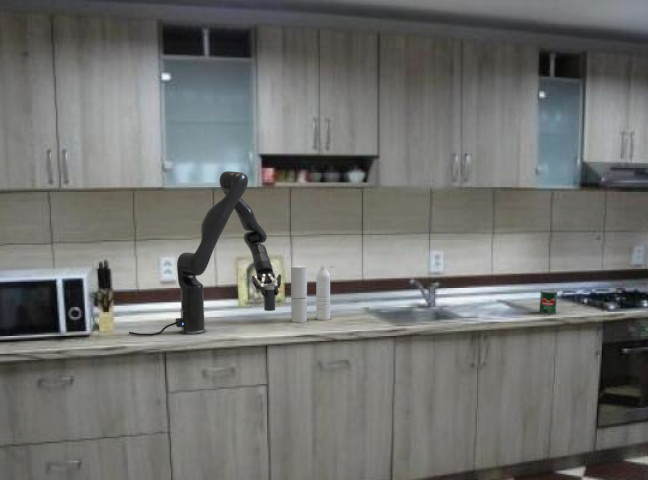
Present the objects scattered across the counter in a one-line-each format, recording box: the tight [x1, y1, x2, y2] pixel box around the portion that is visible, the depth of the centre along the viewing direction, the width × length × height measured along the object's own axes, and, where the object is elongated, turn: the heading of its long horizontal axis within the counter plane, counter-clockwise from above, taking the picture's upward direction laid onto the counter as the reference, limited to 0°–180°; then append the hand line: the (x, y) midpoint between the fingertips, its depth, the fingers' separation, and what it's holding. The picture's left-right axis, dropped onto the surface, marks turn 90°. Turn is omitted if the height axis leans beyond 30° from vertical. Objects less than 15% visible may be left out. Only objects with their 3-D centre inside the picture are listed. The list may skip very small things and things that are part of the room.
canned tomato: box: [538, 289, 558, 315], centre depth 306 cm, size 8×8×11 cm
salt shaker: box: [263, 284, 276, 312], centre depth 276 cm, size 5×5×11 cm
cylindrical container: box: [290, 265, 308, 323], centre depth 282 cm, size 7×7×25 cm
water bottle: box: [315, 264, 335, 321], centre depth 287 cm, size 9×6×25 cm
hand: (270, 294), depth 274 cm, fingers closed on salt shaker, 5 cm apart
